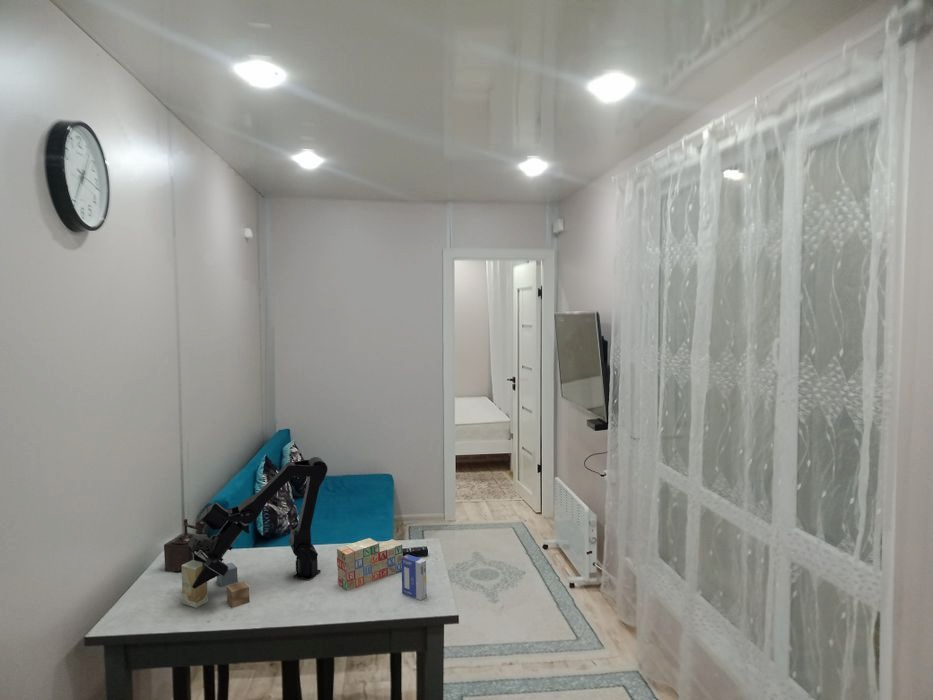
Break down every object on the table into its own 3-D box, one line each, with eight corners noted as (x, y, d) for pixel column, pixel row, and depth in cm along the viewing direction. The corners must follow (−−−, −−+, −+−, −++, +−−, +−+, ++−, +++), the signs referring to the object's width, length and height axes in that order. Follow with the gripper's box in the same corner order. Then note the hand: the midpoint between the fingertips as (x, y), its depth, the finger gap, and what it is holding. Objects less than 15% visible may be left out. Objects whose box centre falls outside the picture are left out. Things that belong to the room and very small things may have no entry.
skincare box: (181, 603, 173) (179, 565, 172) (194, 597, 177) (192, 559, 176) (196, 608, 170) (194, 569, 169) (208, 601, 174) (207, 563, 173)
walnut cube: (243, 596, 177) (243, 580, 177) (249, 602, 174) (248, 586, 173) (227, 601, 174) (226, 586, 174) (232, 608, 170) (232, 592, 170)
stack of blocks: (393, 564, 198) (392, 530, 197) (403, 570, 193) (402, 535, 192) (337, 584, 184) (336, 547, 184) (346, 591, 180) (345, 553, 179)
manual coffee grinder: (162, 572, 194) (159, 521, 193) (182, 558, 205) (179, 509, 204) (205, 574, 192) (202, 522, 191) (222, 559, 203) (220, 510, 202)
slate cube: (232, 576, 190) (231, 562, 190) (237, 582, 187) (237, 567, 186) (216, 581, 187) (216, 566, 187) (222, 587, 183) (221, 572, 183)
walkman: (402, 593, 178) (401, 556, 177) (407, 589, 180) (407, 553, 179) (421, 600, 173) (420, 562, 172) (427, 596, 175) (426, 559, 174)
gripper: (196, 516, 181) (160, 560, 175) (215, 534, 167) (176, 582, 161) (223, 534, 187) (188, 577, 181) (243, 552, 173) (207, 599, 167)
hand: (189, 583), depth 172 cm, fingers closed on skincare box, 7 cm apart
